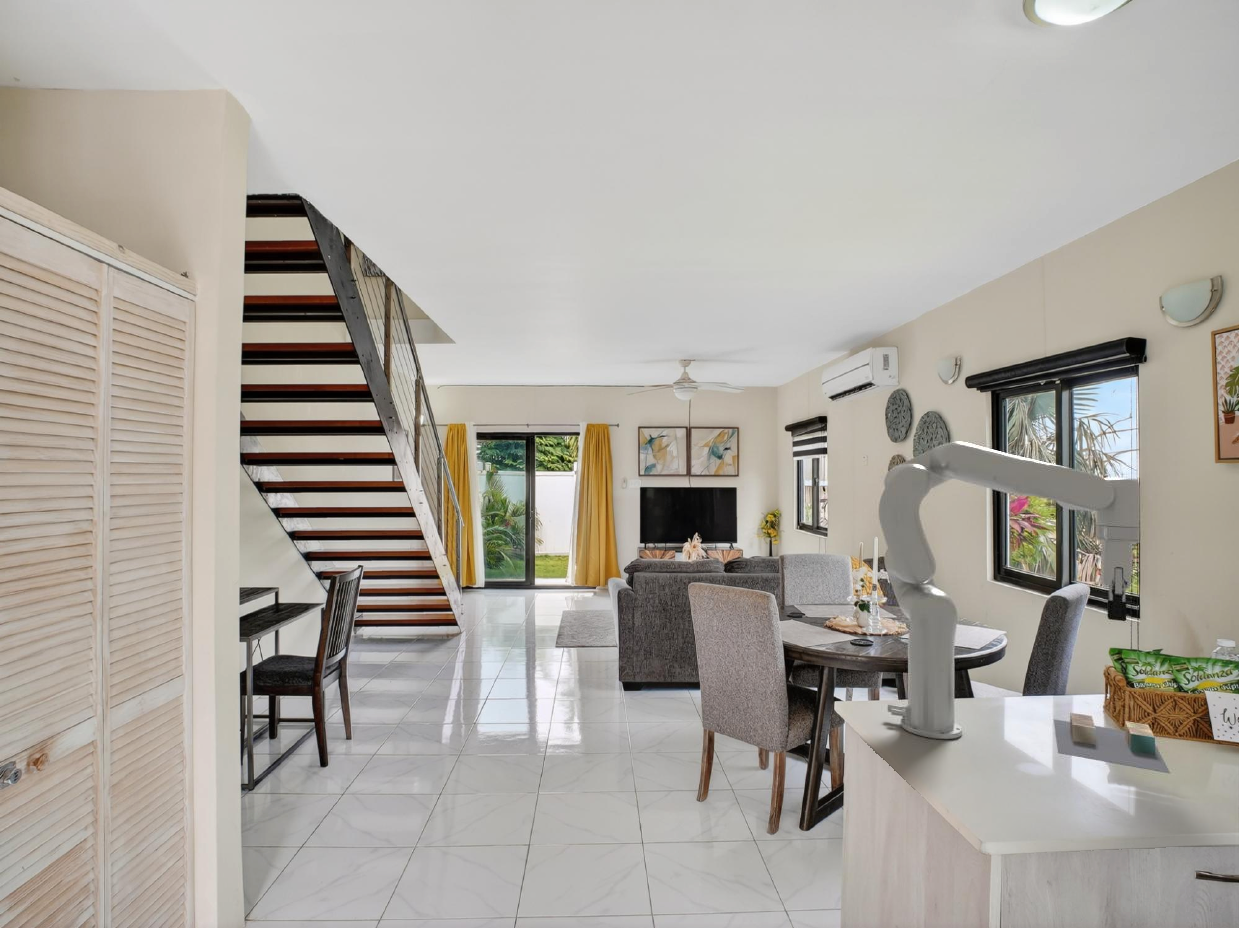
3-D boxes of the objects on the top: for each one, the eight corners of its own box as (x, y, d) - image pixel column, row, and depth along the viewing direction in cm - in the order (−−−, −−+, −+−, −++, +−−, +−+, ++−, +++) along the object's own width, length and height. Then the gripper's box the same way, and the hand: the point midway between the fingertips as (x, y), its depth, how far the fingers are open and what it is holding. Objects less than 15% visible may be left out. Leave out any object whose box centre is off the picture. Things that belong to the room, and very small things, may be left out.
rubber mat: (1058, 754, 139) (1058, 752, 139) (1053, 720, 160) (1053, 719, 160) (1170, 775, 130) (1170, 772, 130) (1150, 736, 150) (1150, 734, 150)
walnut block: (1072, 724, 146) (1070, 712, 154) (1072, 740, 146) (1070, 728, 154) (1095, 727, 144) (1091, 715, 152) (1095, 744, 144) (1091, 731, 151)
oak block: (1130, 733, 141) (1125, 721, 149) (1130, 750, 141) (1125, 737, 148) (1154, 737, 139) (1148, 724, 146) (1155, 754, 139) (1148, 741, 146)
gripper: (1095, 532, 156) (1094, 612, 156) (1098, 535, 144) (1097, 622, 143) (1135, 534, 152) (1135, 617, 152) (1142, 537, 140) (1142, 627, 139)
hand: (1116, 619), depth 147 cm, fingers closed
